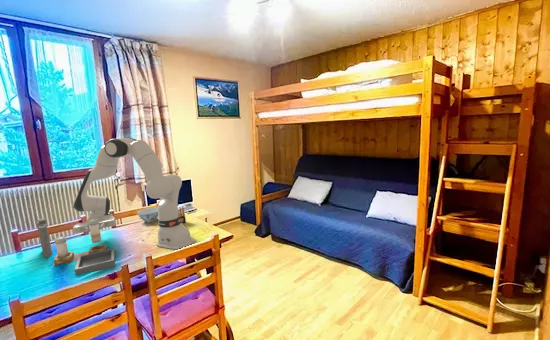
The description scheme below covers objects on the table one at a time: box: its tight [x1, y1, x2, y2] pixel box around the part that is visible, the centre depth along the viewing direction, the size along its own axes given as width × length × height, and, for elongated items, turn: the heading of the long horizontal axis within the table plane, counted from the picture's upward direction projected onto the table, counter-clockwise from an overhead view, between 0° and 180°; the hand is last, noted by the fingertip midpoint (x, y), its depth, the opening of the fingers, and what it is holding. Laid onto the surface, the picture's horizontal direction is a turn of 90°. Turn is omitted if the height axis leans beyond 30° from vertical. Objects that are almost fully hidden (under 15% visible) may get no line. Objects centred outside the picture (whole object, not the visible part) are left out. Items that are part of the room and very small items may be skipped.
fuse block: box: [51, 243, 109, 267], centre depth 151 cm, size 24×10×4 cm, turn 119°
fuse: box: [54, 236, 70, 258], centre depth 146 cm, size 5×5×12 cm
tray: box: [74, 248, 116, 275], centre depth 142 cm, size 16×16×4 cm
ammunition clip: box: [178, 206, 187, 224], centre depth 194 cm, size 11×2×12 cm, turn 122°
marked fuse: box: [88, 219, 103, 244], centre depth 152 cm, size 5×5×12 cm
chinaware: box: [137, 207, 159, 223], centre depth 204 cm, size 15×15×8 cm
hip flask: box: [36, 218, 53, 258], centre depth 157 cm, size 16×4×20 cm, turn 44°
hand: (94, 229), depth 151 cm, fingers closed on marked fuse, 4 cm apart
